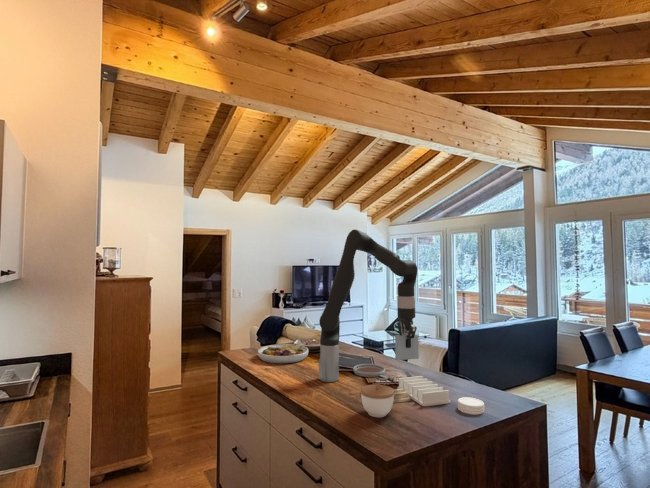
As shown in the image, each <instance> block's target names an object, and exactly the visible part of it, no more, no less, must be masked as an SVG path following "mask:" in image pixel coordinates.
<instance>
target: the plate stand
mask: <svg viewBox="0 0 650 488" xmlns="http://www.w3.org/2000/svg"><path fill="white" fill-rule="evenodd" d="M393 390H394V400H393V404H394V403H395V404H396V403H397V404H398V403H405V402H411V401H412V399H411V398H410V397H408V392H403V389H398V388H397V389H393Z"/></svg>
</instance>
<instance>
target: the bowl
mask: <svg viewBox="0 0 650 488" xmlns="http://www.w3.org/2000/svg"><path fill="white" fill-rule="evenodd" d="M257 355H258V357H259V358H260V360H262V361H263V362H266V363H271V364H280V365H281V364H292V363H298V362H300V361H303V360H305V359H306V358H307V357H308V355H309V348H308V347H306V346H304V345H300V344H290V343H289V344H287V343H285V344H283V343H282V344H271V345H266V346H263V347H260V348H259V349H257Z"/></svg>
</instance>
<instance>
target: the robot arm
mask: <svg viewBox="0 0 650 488" xmlns="http://www.w3.org/2000/svg"><path fill="white" fill-rule="evenodd" d="M343 246H344V248H343V250H342V255H341V258H340V261H339V264H338V267H337V270H336V272H335V276H334V278H333V282H332V284H331V288H330V292H329V297H328V300H327V303H326V305H325V308H324V309H323V311H322V313H321V316H320V317H319V321H318V322H319V325H320V328H321V329H320V333H321V334H320V339H319V341H320V343H319V344H320V345H319V346H320V347H319V348H320V349H319V357H320V358H318V379H319V380H320V381H321V382H322V383H323V382H324V383H325V382H327V383H333V382H338V381H339V379H340V372H339V371H340V332H341V331H340V327H341V326H340V324H341V323H340V321H341V320H340V315H341V311H342V308H343V306H344V303H345V301H346V300H347V298H348V296H349V294H350V292H351V290H352V289H351V288H352V286H353V283H354V281H355V273H356V272H355V266H354V265H355V264H354V263H355V262H354V260H355V255H356V252H357V251H360V252H365V253H367V254H370V255H371V256H372V257H374V258H375V259H376V260H377V261H378V262H379V263H381V264H383V265H384V266H385V267H388V268H389V270H390V271H391V272H392V274H394V275H395V276H397V277H402V278H403V279H402V281H401V282H399V283H398V284H397V300H396V301H397V302H396V303H397V306H396V307H397V309H396V311H397V318H399V321H398V322H397V323H396V324H397V329H398V333H399V335H405V337H406V348H411V339H412V338H414V336H415V334H416V332H417V329H418V328H417V326H414V321H413V320H414V319H415V318H416V299H415V284H416V282H417V277H418V266H417V264H416V261H414V260H411V259H407V260H405V259H401V258H400V256H399V254H398V253H395V252H394V251H392V250H390V249H389V248H387V247H384V246H383V245H381V244H379V243H378V242H377V241H375V240H374V239H373V238H372V237H371V236H370V235H369V234H367V233H366V232H363V231H361V230H359V229H352V230H350V231H349V233H347V236H346V239H345V243H344V245H343Z"/></svg>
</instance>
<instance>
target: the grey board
mask: <svg viewBox="0 0 650 488" xmlns="http://www.w3.org/2000/svg"><path fill="white" fill-rule="evenodd" d="M394 345H395V346H394V351H395V352H394V354H395V356H394V358H395V360H397V361H406V360H416V359H417V360H418V359H419V355H420V354H419V334H417V333H415V336H414V338H412V339H411V348H406V337H405V335H400V334H399V335H397V334H396V335H395V337H394Z"/></svg>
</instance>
